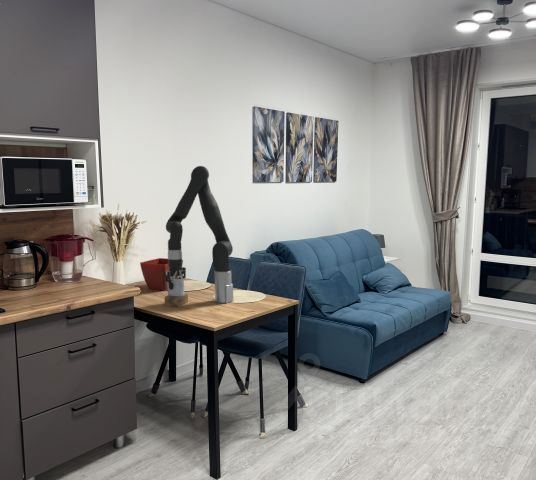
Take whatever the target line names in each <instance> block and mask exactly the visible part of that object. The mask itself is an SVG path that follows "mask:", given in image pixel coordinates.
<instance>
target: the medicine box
mask: <svg viewBox="0 0 536 480" xmlns="http://www.w3.org/2000/svg"><path fill="white" fill-rule="evenodd" d="M167 285H168V290H167V296H177V297H181V296H183V295H184V294H185V279H183V280H182V279H174V280H173V290H170V289H169V283H168V282H167Z"/></svg>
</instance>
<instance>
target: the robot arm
mask: <svg viewBox="0 0 536 480" xmlns="http://www.w3.org/2000/svg"><path fill="white" fill-rule="evenodd" d="M209 176H210V172H209V170H208V168H206V167H205V166H203V165H198V166H196V167H194V168H193V169H192V170H191V173H190V181H189V183H188V185H187V187H186V189H185V191H184V193H183V194H182V196H181V198H180V199H179V201H178V203H177V206H176V207H175V210H174V212H173V213H172V214H171V216H170V217H169V218H168V220H167V222H166V224H165V230H166V232H167V233H169V239H168V240H167V259H168V266H169V271H165V280H166V282H168V283H169V289H170V290H173V280H174V279H175V277H176V276H177V277H178V279H182V280H185V279H186V276H187V274H186V271H187V270H186V269H187V268H186V267H185V266H184V267H183V265H182V260H183V251H182V238H183V224H182V222H183V220H185V219H186V218H187V217H188V216H189V215H188V214H189V213H190V210H191V208H192V207H193V204H194V203H195V200H196V197H197V196H198V200H199V205H200V207H201V212H202V216H203V218H204V221H205V223H206V225H207V226H208V228H209V229H210V230H211V232H212V234H213V235H214V239H215V244H214V245H213V247H212V250H211V251H212V252H211V255H212V266H213V268H214V269H213V270H214V301H215V303H218V304H228V303H231V302H234V284H233V283H232V265H231V264H230V261H229V260H230V258H229V257H230V256H231V255H232V253H233V245H232V244H233V243H232V242H231V240H230V238H229V235H228V233H227V230H226V227H225V224H224V221H223V218H222V213H221V210H220V207H219V204H218V202H217V201H216V199H215V197H214V195H213V193H212V190H211V187H210V185H209V178H210V177H209ZM181 266H182V267H181ZM171 276H172V277H171ZM230 301H231V302H230Z"/></svg>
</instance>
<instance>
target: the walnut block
mask: <svg viewBox="0 0 536 480" xmlns="http://www.w3.org/2000/svg"><path fill="white" fill-rule="evenodd" d="M188 303H189V294H188V293H184V295H183V296H181V297H177V296H168V295H165V296H164V306H170V307H178V308H179V307H182V306H183V305H187V304H188Z"/></svg>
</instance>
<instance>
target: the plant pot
mask: <svg viewBox="0 0 536 480" xmlns="http://www.w3.org/2000/svg"><path fill="white" fill-rule="evenodd" d="M183 263H184V259H182V266H181V267H183ZM139 265H140V269H141V273H142V276H143V280H144V281H145V284H146V287H147V289H149V290H157V291H168V285H167V282H166V280H165V271H169V266H168V258H163V257H162V258H161V257H158V258H153V259H149V260H146V261H141V262H139ZM171 277H172V276H171ZM175 279H178V277H177V276H176V277H175Z"/></svg>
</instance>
